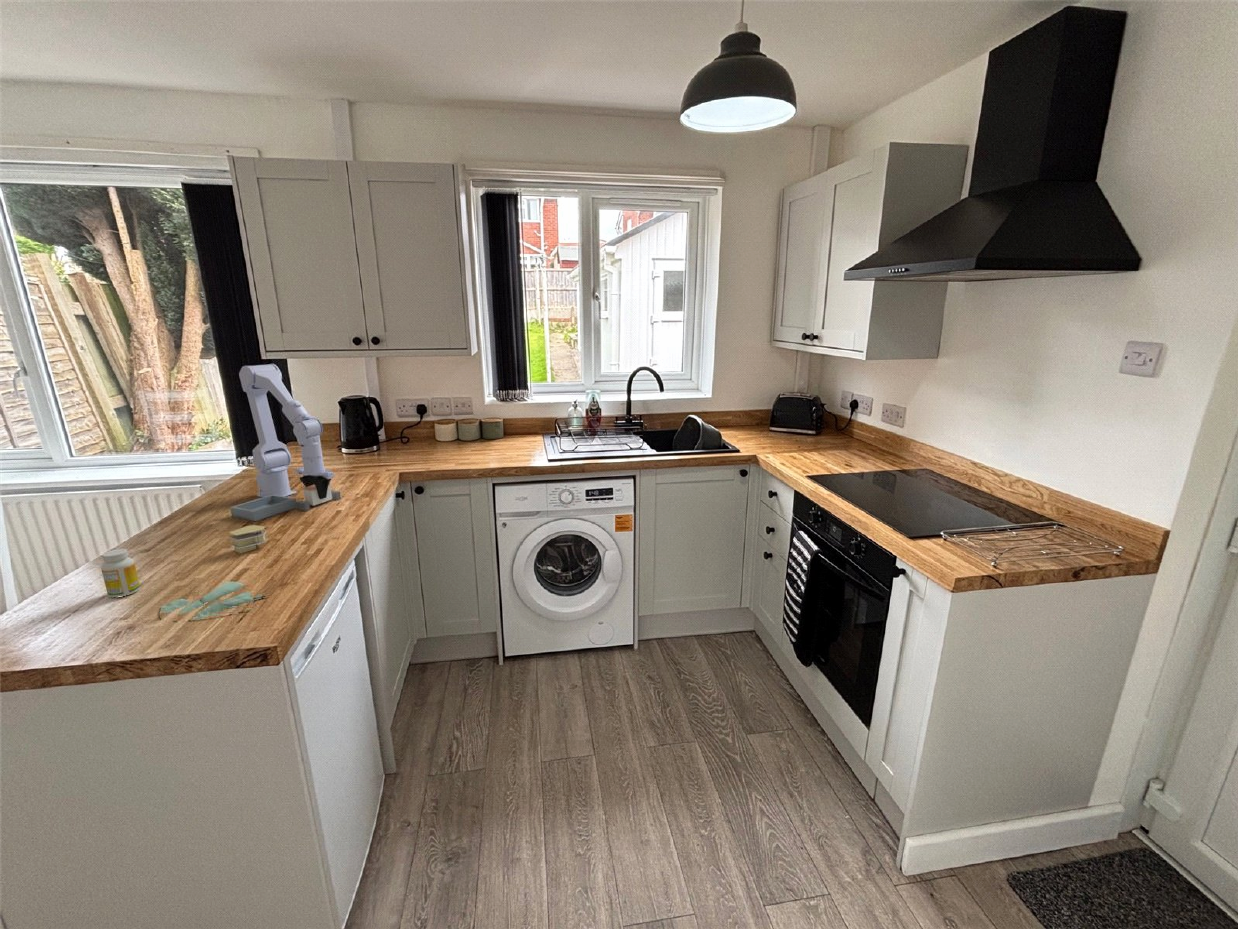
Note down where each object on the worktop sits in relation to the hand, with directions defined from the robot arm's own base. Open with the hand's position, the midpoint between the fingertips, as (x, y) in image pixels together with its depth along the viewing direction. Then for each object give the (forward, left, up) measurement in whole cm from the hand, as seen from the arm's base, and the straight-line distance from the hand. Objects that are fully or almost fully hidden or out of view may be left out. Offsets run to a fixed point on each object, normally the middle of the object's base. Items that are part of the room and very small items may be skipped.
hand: (318, 497), depth 176 cm
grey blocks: (0, 0, -2) cm, 2 cm away
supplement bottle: (+13, -59, -2) cm, 60 cm away
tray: (-9, -12, -2) cm, 15 cm away
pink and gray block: (0, 0, -1) cm, 1 cm away
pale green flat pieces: (+37, -53, -3) cm, 65 cm away
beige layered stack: (+15, -32, -3) cm, 36 cm away
